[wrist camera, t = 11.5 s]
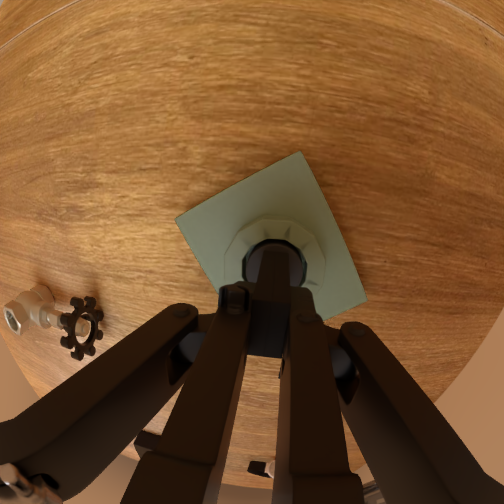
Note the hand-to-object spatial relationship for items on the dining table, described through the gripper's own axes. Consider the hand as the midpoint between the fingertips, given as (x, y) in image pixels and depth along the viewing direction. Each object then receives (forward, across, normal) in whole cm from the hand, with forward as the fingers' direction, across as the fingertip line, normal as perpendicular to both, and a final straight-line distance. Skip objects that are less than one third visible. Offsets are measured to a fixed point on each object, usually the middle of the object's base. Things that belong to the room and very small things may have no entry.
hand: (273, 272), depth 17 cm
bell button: (+2, 0, 0) cm, 2 cm away
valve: (+5, -23, -9) cm, 25 cm away
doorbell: (+5, 0, 0) cm, 5 cm away
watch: (+5, +4, -32) cm, 33 cm away
